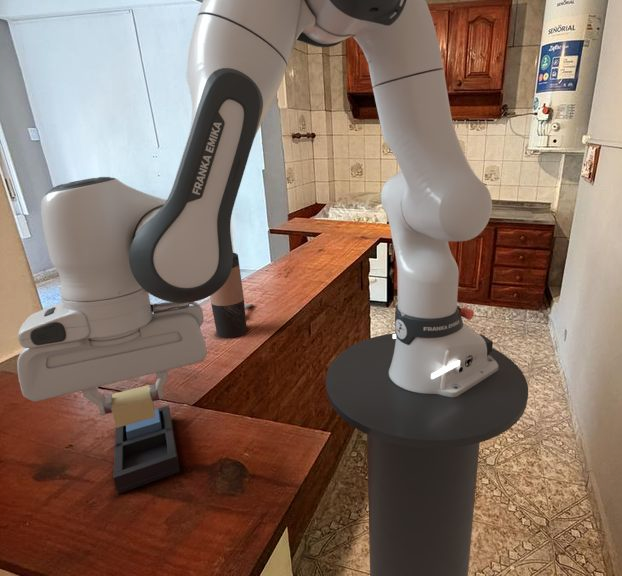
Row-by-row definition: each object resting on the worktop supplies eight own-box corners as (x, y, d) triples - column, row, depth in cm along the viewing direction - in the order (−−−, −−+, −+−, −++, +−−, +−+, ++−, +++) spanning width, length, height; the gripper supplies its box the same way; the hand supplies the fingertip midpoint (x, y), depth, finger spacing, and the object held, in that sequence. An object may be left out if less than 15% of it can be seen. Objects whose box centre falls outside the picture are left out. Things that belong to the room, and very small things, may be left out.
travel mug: (249, 325, 105) (240, 251, 99) (245, 337, 98) (235, 259, 92) (219, 327, 104) (208, 252, 98) (212, 339, 97) (200, 260, 90)
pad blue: (161, 423, 66) (158, 408, 65) (163, 437, 62) (160, 421, 61) (130, 433, 63) (126, 417, 62) (130, 448, 60) (125, 432, 59)
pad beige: (153, 402, 58) (149, 384, 57) (155, 417, 54) (151, 398, 53) (116, 412, 55) (112, 393, 54) (116, 428, 52) (111, 408, 51)
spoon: (231, 321, 107) (230, 314, 107) (245, 308, 119) (244, 301, 118) (242, 321, 107) (242, 314, 107) (255, 308, 119) (254, 301, 118)
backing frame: (171, 419, 68) (168, 405, 67) (180, 472, 57) (176, 456, 56) (119, 434, 64) (116, 420, 63) (117, 494, 53) (113, 477, 52)
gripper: (197, 290, 58) (210, 373, 62) (11, 319, 48) (43, 416, 52) (203, 303, 53) (217, 393, 57) (-3, 339, 42) (34, 445, 47)
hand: (133, 404), depth 54 cm, fingers closed on pad beige, 4 cm apart
